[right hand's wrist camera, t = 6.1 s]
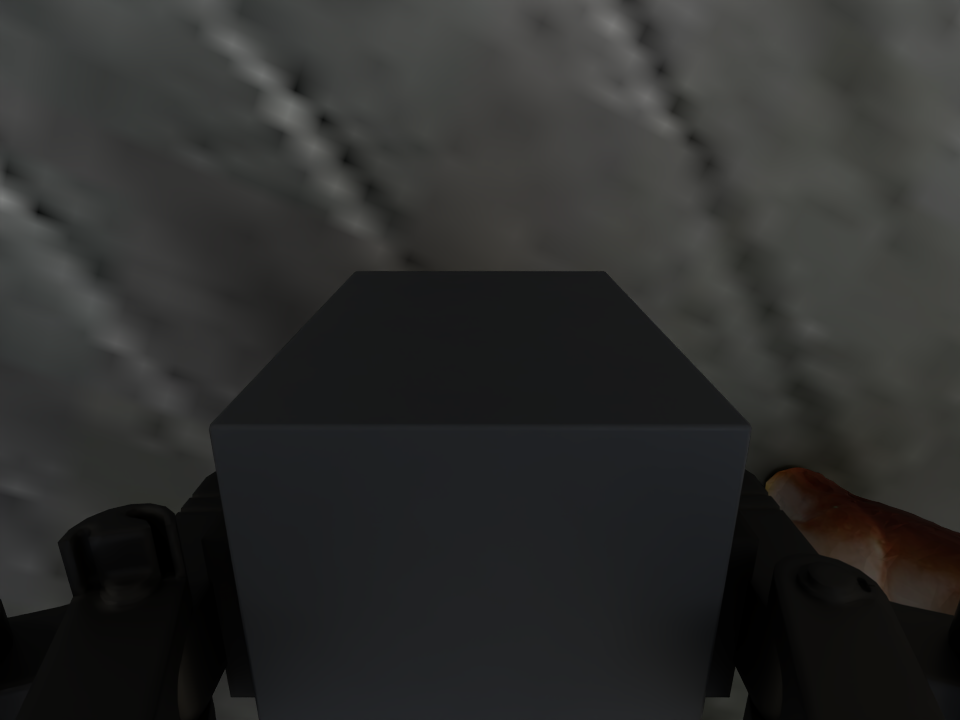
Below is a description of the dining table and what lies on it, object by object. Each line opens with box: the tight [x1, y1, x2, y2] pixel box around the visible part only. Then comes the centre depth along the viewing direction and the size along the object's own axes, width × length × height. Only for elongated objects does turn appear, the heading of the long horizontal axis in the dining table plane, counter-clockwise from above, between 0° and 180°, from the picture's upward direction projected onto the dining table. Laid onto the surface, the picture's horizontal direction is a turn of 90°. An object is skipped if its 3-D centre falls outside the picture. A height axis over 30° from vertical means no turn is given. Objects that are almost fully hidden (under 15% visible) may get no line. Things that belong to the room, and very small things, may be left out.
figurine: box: [765, 467, 960, 615], centre depth 20 cm, size 6×8×15 cm
